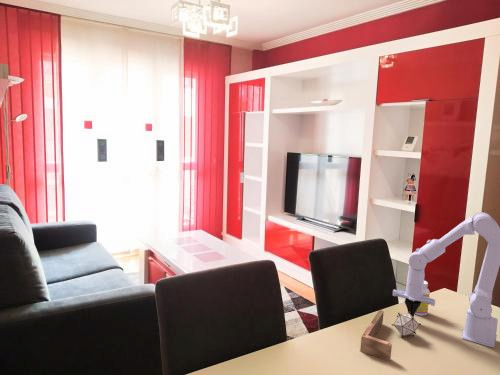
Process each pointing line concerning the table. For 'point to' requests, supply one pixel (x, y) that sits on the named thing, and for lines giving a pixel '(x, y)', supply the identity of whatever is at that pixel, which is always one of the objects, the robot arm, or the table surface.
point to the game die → (406, 324)
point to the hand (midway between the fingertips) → (411, 318)
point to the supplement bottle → (423, 307)
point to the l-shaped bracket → (375, 340)
